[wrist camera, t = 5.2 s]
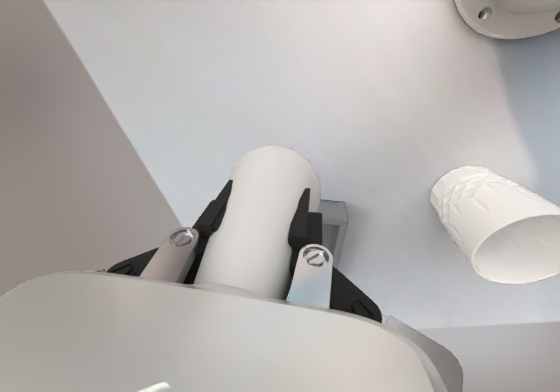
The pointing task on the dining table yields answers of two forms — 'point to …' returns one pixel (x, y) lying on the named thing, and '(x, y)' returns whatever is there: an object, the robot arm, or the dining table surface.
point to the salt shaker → (259, 224)
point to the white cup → (499, 225)
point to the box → (333, 226)
